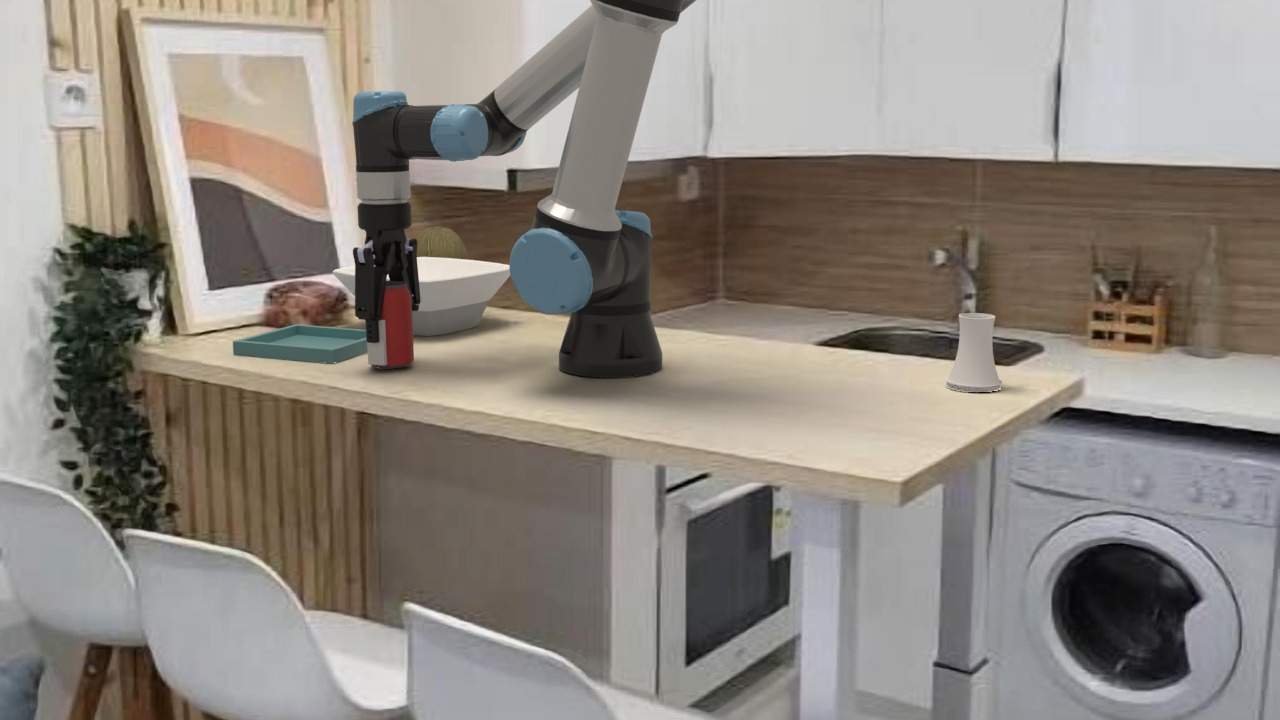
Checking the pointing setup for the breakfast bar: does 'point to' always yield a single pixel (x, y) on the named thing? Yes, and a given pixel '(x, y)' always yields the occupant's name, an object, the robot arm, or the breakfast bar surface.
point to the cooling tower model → (974, 356)
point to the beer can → (398, 325)
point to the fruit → (440, 244)
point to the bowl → (447, 292)
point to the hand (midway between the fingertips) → (391, 359)
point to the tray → (304, 344)
